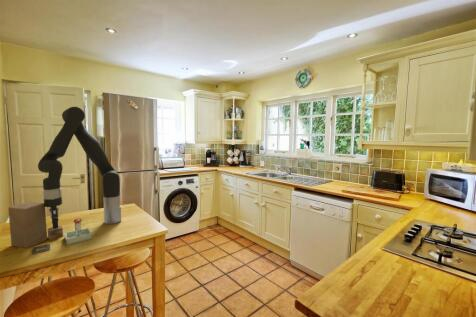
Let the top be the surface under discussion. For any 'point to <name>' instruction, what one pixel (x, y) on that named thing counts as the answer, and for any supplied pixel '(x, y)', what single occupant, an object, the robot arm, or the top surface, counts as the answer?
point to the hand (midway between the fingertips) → (55, 225)
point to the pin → (77, 227)
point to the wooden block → (27, 224)
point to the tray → (72, 238)
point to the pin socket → (41, 249)
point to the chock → (55, 232)
